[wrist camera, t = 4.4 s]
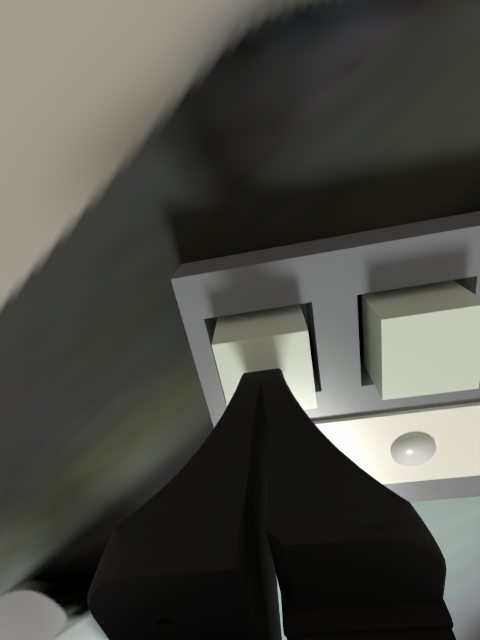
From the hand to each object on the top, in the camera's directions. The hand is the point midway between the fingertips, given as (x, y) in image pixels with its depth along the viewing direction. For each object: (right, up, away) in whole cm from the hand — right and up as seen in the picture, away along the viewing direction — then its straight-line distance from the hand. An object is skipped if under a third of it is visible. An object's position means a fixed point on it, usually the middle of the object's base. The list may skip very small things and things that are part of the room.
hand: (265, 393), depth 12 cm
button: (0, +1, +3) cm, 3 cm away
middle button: (+6, +2, +2) cm, 7 cm away
